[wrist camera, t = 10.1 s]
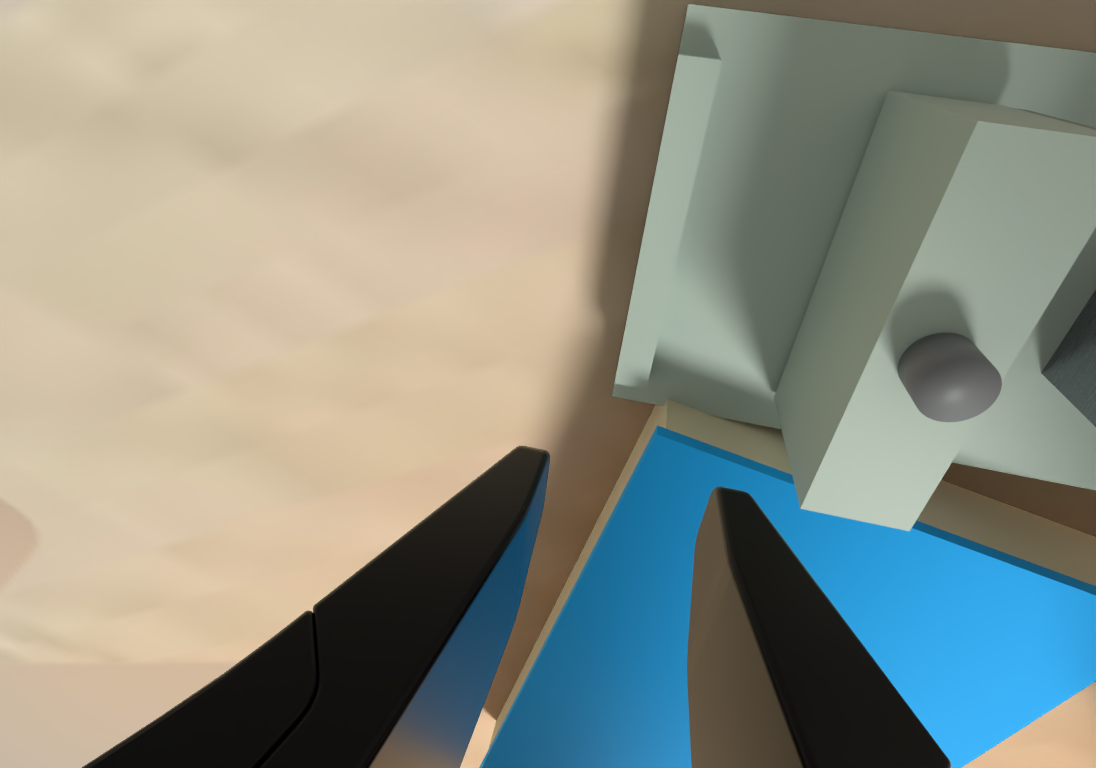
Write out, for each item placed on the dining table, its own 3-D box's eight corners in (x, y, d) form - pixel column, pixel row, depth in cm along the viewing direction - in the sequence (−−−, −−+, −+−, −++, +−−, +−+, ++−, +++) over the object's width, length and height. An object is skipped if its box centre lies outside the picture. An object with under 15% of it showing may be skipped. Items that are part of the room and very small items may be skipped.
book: (472, 786, 31) (645, 438, 17) (494, 706, 35) (653, 363, 21) (780, 899, 31) (1212, 641, 17) (771, 806, 34) (1121, 530, 20)
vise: (1633, 118, 13) (2218, 177, 8) (1249, 499, 18) (1447, 666, 14) (688, 4, 15) (689, -4, 10) (615, 378, 21) (594, 485, 16)
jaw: (1017, 107, 13) (1216, 159, 8) (867, 414, 18) (938, 567, 13) (888, 90, 14) (1005, 130, 9) (774, 397, 18) (807, 539, 13)
